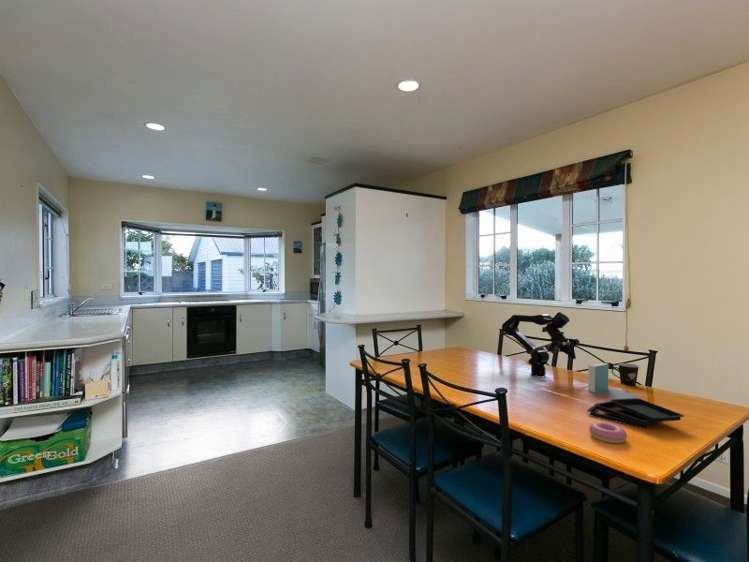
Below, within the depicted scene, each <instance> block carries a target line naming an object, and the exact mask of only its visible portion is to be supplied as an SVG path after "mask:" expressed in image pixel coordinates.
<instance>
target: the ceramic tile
mask: <svg viewBox="0 0 749 562" xmlns="http://www.w3.org/2000/svg"><path fill="white" fill-rule="evenodd" d="M609 365H610V364H609V363H605V362H600V363H593V364H592V363H591V364H589V365H588V379H587V381H588V382H587V384H588V385H587V389H588V390H589V391H592V392H597V391H601V390H606V389H608V388H609Z"/></svg>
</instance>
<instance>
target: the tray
mask: <svg viewBox="0 0 749 562" xmlns="http://www.w3.org/2000/svg"><path fill="white" fill-rule="evenodd" d="M596 409H597V410H598V411H601V412H604V413H605V414H603V413H598V412H596V411H597V410H596ZM595 410H596V411H595ZM586 411H587V412H589V413H590V416H591V415H592V416H591V417H594V416H596V417H595V418H598V417H600V418H599V419H603V418H604V419H603V420H607V419H608V421H611V420H612V421H611V422H615V421H617V422H616V423H619V422H621V423H620V424H623V423H625V424H624V425H627V424H629V426H631V425H633V426H632V427H635V426H637V427H636V428H639V427H641V428H640V429H647V428H648V427H649V426H651V425H654V424H658V423H662V422H674V421H675V422H676V421H681V418H684V417H685V415H684V414H682V413H679V412H676V411H673V410H671V409H669V408H666V407H663V406H660V405H657V404H655V403H652V402H649V401H647V400H644V399H642V398H640V397H639V398H629V399H611V398H610V400H608V401H604V402H599V403H595V404H593V406H591V407H590V408H588V409H587V410H586ZM594 411H595V412H594ZM606 413H607V414H609V415H606ZM611 415H613V416H611ZM615 416H616V417H615Z"/></svg>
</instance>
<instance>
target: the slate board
mask: <svg viewBox="0 0 749 562" xmlns="http://www.w3.org/2000/svg"><path fill="white" fill-rule="evenodd" d="M582 391H583V392H586V393H590V394H594V395H597V396H602V397H605V398H608V399H610V400H611V399H629V398H639V399H640V398H643V395H641V394H635V393H631V392H628V391H623V390H619V389H616V388H612V387H608V389H606V390H601V391H597V392H592V391H589V390H588V388H587V389H583V390H582Z"/></svg>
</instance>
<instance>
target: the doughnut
mask: <svg viewBox="0 0 749 562" xmlns="http://www.w3.org/2000/svg"><path fill="white" fill-rule="evenodd" d="M588 429H589V433H590V435H591V436H592V437H593V438H594V439H596V440H598V441H600V440H601V441H600V442H604V443H608V444H621V443H624V442H625V441H626V440H627V437H628V435H627V434H628V433H627V432H626V430H625V429H624V428H623V427H621V426H618V425H616V424H614V423H609V422H602V421H597V422H593V423H592V424H590V426H589V428H588Z"/></svg>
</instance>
